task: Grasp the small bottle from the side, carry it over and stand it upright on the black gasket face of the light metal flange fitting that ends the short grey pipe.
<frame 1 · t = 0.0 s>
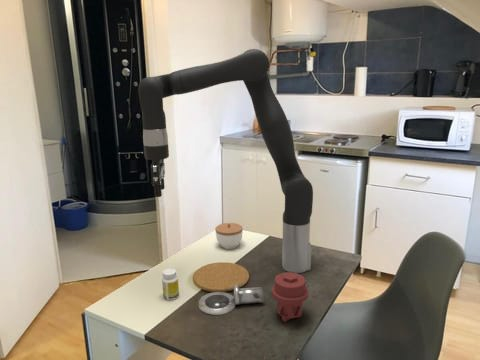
hand: (159, 192, 125), 29 cm above the table, tool pointing down, fingers open, 8 cm apart
lidded jar: (229, 246, 155), on the table
supplement bottle: (171, 296, 119), on the table
mechanical component: (289, 316, 108), on the table
flange fitting: (217, 304, 115), on the table
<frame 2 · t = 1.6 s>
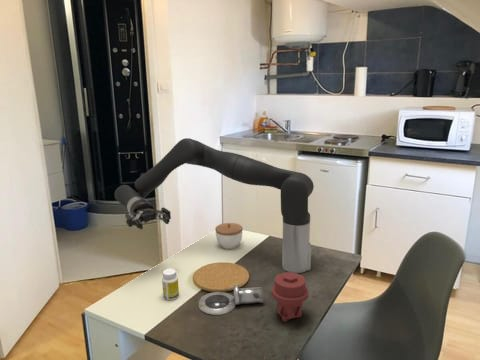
hand: (154, 223, 123), 20 cm above the table, tool horizontal, fingers open, 8 cm apart
nothing on the table moved.
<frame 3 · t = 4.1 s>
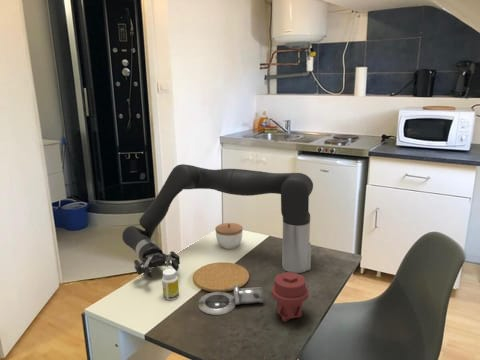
hand: (164, 271, 123), 6 cm above the table, tool horizontal, fingers open, 8 cm apart
nothing on the table moved.
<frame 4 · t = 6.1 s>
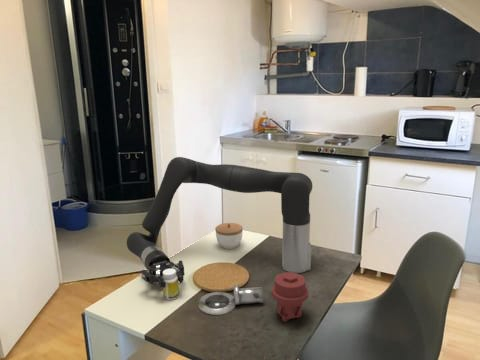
hand: (173, 282, 116), 6 cm above the table, tool horizontal, fingers closed on supplement bottle, 4 cm apart
supplement bottle: (171, 296, 119), on the table, touching gripper
everything else where it was.
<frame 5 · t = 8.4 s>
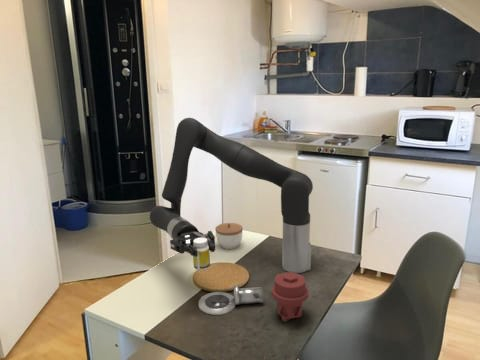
hand: (204, 251, 109), 18 cm above the table, tool horizontal, fingers closed on supplement bottle, 4 cm apart
supplement bottle: (202, 267, 113), point 11 cm above the table, touching gripper
everything else where it was.
when the fingers open (8 cm above the table, at t = 11.0 s): supplement bottle stays where it is, resting on flange fitting.
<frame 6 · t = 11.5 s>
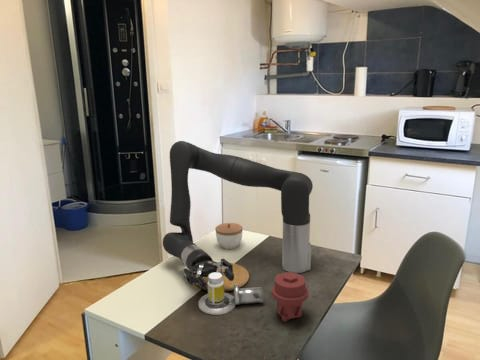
hand: (219, 281, 111), 8 cm above the table, tool horizontal, fingers open, 8 cm apart
supplement bottle: (216, 301, 114), point 1 cm above the table, touching flange fitting
everything else where it was.
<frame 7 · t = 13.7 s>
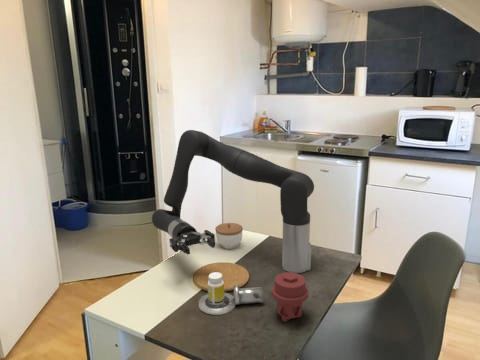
hand: (201, 248, 121), 13 cm above the table, tool horizontal, fingers open, 8 cm apart
nothing on the table moved.
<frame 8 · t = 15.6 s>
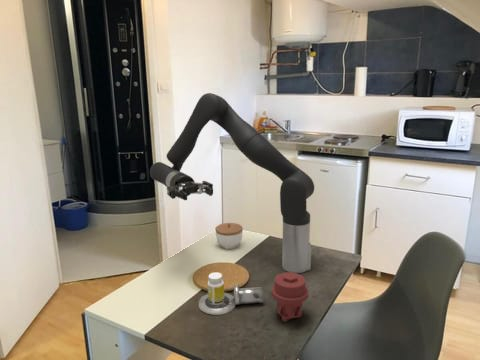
hand: (199, 194, 119), 30 cm above the table, tool horizontal, fingers open, 8 cm apart
nothing on the table moved.
at the end: supplement bottle 0.2 cm from the flange fitting (horizontally); supplement bottle tilted 0°; the gripper is holding nothing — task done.
